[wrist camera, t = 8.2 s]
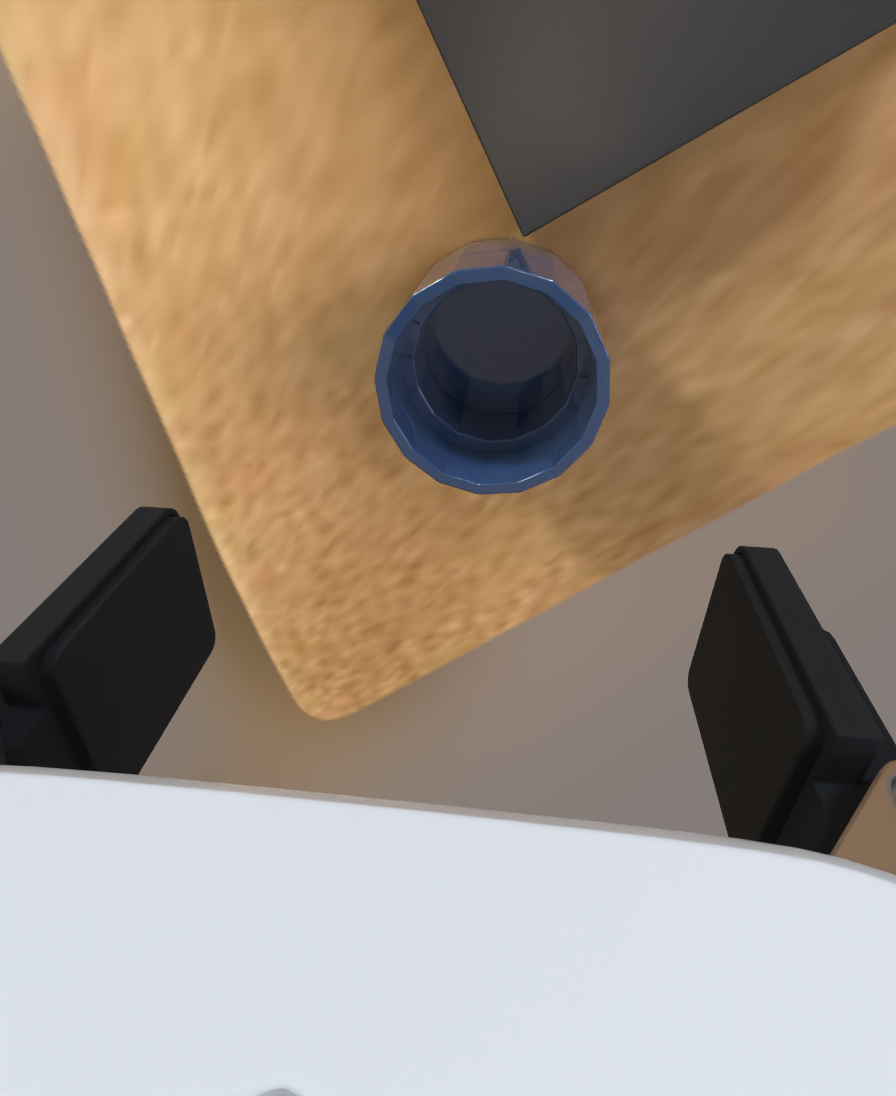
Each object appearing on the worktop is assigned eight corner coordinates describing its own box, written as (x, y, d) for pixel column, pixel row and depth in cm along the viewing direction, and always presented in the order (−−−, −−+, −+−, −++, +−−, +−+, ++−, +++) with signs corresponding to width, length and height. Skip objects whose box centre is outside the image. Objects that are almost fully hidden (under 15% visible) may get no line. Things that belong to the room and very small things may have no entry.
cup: (625, 380, 25) (645, 440, 20) (462, 456, 28) (446, 524, 23) (546, 194, 22) (548, 215, 17) (370, 299, 25) (331, 342, 20)
